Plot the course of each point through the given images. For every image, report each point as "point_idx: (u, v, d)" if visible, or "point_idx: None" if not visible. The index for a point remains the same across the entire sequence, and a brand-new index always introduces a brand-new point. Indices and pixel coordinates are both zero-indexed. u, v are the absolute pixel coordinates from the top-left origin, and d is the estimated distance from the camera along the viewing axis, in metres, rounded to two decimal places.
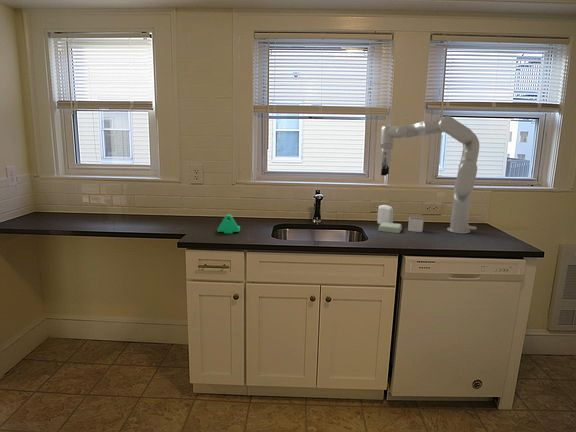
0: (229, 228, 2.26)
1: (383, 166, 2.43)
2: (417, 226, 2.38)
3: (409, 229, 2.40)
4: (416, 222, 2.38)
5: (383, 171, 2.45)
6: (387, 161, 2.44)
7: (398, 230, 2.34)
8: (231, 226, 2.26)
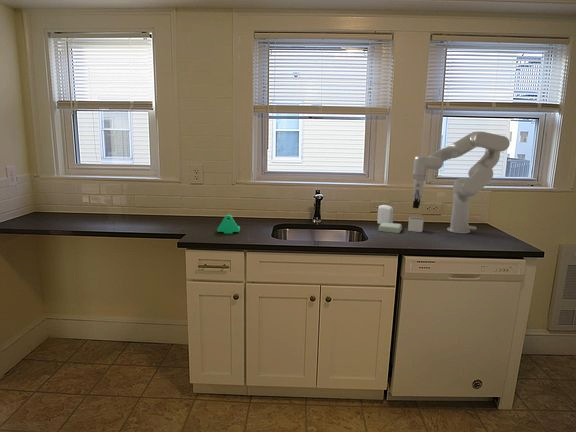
0: (229, 228, 2.26)
1: (416, 199, 2.31)
2: (417, 226, 2.38)
3: (409, 229, 2.40)
4: (416, 222, 2.38)
5: (415, 204, 2.33)
6: (420, 193, 2.32)
7: (398, 230, 2.34)
8: (231, 226, 2.26)
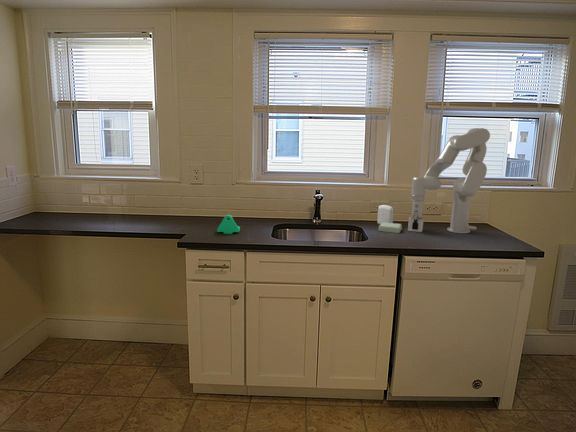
0: (229, 228, 2.25)
1: (415, 220, 2.35)
2: None
3: (409, 229, 2.40)
4: None
5: (414, 225, 2.37)
6: (419, 214, 2.34)
7: (398, 230, 2.34)
8: (231, 227, 2.25)
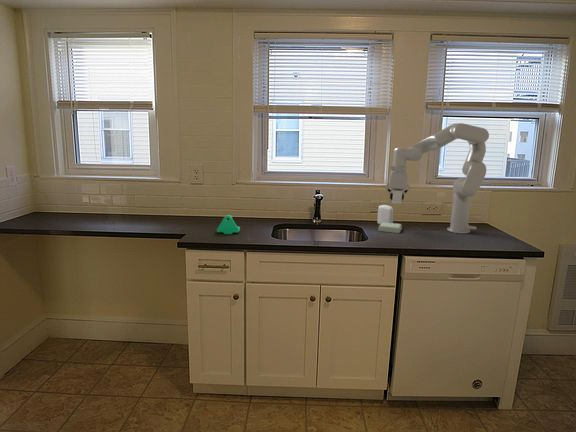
0: (228, 229, 2.25)
1: (388, 190, 2.38)
2: None
3: None
4: None
5: (390, 195, 2.38)
6: (389, 184, 2.35)
7: (398, 230, 2.34)
8: (230, 227, 2.25)
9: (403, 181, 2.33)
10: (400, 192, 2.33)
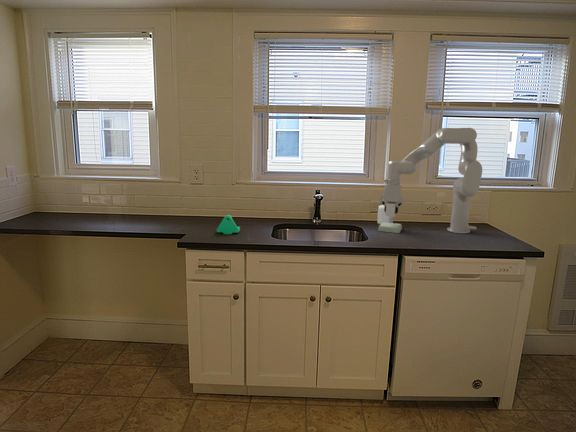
0: (228, 229, 2.25)
1: None
2: None
3: None
4: None
5: None
6: (382, 196, 2.38)
7: (398, 230, 2.34)
8: (230, 227, 2.24)
9: (396, 194, 2.34)
10: (393, 205, 2.34)
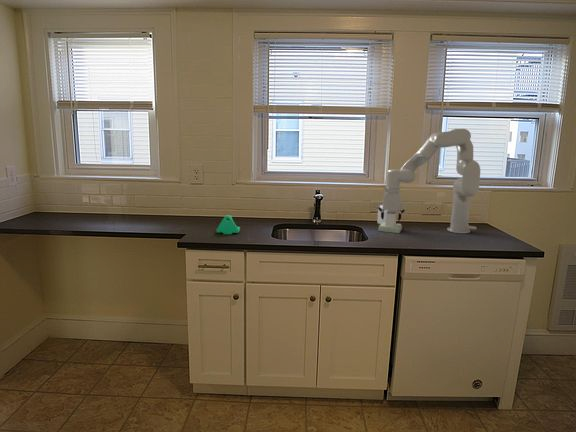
0: (228, 229, 2.24)
1: None
2: None
3: None
4: None
5: (381, 214, 2.42)
6: None
7: (398, 230, 2.34)
8: (230, 227, 2.24)
9: (396, 203, 2.35)
10: (393, 215, 2.35)
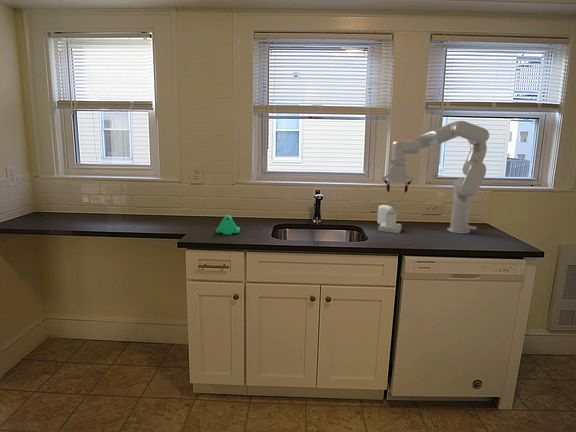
0: (228, 229, 2.24)
1: None
2: None
3: None
4: None
5: (387, 187, 2.40)
6: (388, 177, 2.37)
7: (398, 230, 2.34)
8: (230, 227, 2.24)
9: (402, 174, 2.33)
10: (393, 215, 2.35)
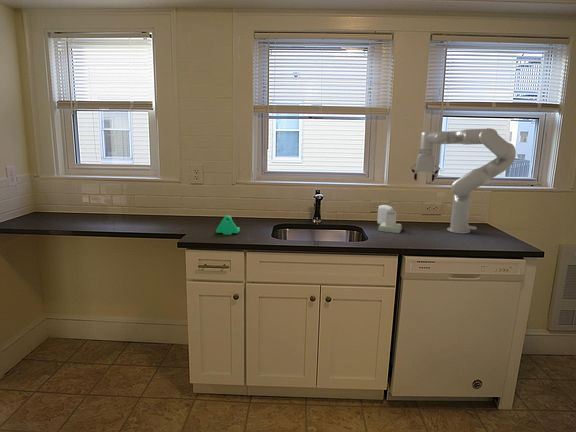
0: (228, 229, 2.23)
1: (412, 171, 2.49)
2: None
3: None
4: None
5: (414, 176, 2.50)
6: (416, 166, 2.46)
7: (398, 230, 2.34)
8: (230, 227, 2.23)
9: (430, 163, 2.42)
10: (393, 215, 2.35)
